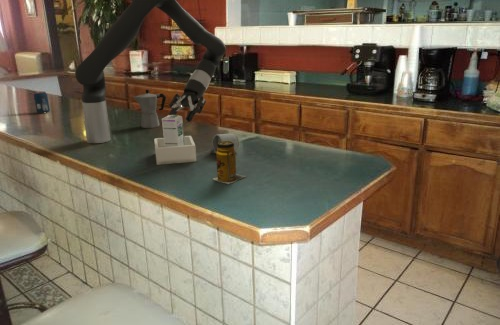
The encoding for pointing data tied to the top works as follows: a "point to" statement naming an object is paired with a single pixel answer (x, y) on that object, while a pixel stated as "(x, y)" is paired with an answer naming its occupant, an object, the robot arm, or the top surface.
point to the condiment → (226, 163)
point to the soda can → (41, 102)
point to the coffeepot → (149, 109)
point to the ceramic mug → (225, 137)
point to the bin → (175, 152)
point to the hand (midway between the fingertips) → (178, 119)
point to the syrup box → (173, 131)
